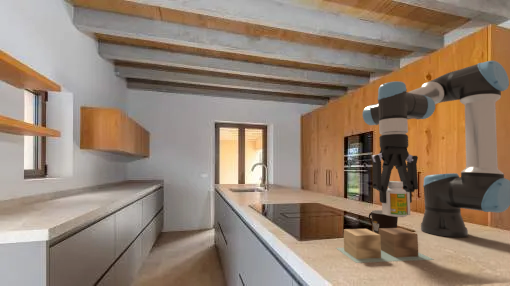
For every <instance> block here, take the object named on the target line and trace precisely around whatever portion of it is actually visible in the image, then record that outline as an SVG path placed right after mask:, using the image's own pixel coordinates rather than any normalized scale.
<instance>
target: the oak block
mask: <svg viewBox="0 0 510 286" xmlns="http://www.w3.org/2000/svg"><path fill="white" fill-rule="evenodd" d="M343 248H344V251H346V252H347V253H349V254H350V255H352V256H353V257H354V258H356V259H368V258H381V239H380V235H379V234H377V233H375V232H374V231H372V230H370V229H368V228H345V229H343Z"/></svg>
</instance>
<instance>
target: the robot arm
mask: <svg viewBox="0 0 510 286" xmlns="http://www.w3.org/2000/svg"><path fill="white" fill-rule="evenodd" d="M509 86H510V80H509V76H508V73H507V71H506V69H505V68H504V66H503V65H502V64H501V63H500V62H498V61H497V60H487V61H484V62H478V63H476V64H473V65H470V66H467V67H464V68H463V67H462V68H460V69H457V70H453V71H450V72H447V73H445V74H442V75H440V76H438V77H436V78H434V79H432V80H430V81H427V82H425V83H423V84H422V85H421V87H418V88H415V89H412V90H410V91H407V85H406V83H405V82H403V81H390V82H385V83H383V84H381V85H380V86H379V87H378V91H377V94H378V95H377V103H375V104H370V105H368V106H366V107H365V108H364V109H363V111H362V119H363V122H364V123H365V124H367V125H368V126H378V127H379V130H378V132H379V134H380V136H379V138H378V139H379V148H380V151H379V153H378V154H372V155H370V159H371V163H372V188H373V189H374V190H377V191H378V193H379V202H380V204H381V210H382V214H385V215H388V216H391V209H390V192H386V191H387V189H388V184H389V181H391V180H390V179H391V175H392V171H393V169H394V167H395V169H396V170H397V174H398V177H399V180H400V182H403V187H402V189H404V190H405V191H406V201H407V216H411V204H412V202H413V198H412V195H413V194H412V193H414V192H415V190H418V189H419V181H418V180H419V179H418V169H417V168H418V167H417V164H418V160H419V159H418V158H419V157H418V155H412V154H410V153H409V152H408V148H409V136H408V135H407V134H408V133H409V126H408V120H411V119H414V120H426V119H428V118H430V117H431V116H432V115H433V114H434V112H435V110H436V105H437V104H439V103H445V102H446V103H447V102H452V101H453V102H454V101H459V103H461V104H462V105H464V119H465V120H464V129H465V131H464V132H465V136H464V137H465V168H464V169H463V170H461V171H460V176H461V177H460V176H459V173H454V172H453V173H452V172H451V173H440V174H439V173H438V174H437V173H436V174H428V175H426V176H424V178H423V186H422V187H423V194H424V195H423V196H424V213H423V216H422V221H421V223H420V230H421V231H422V232H424V233H427V234H430V235H434V236H442V237H448V238H449V237H450V238H466V237H468V236H469V232H468V228H467V227H466V224H465V222H464V219H463V216H462V212H461V211H462V210H461V209H464V210H465V209H466V210H472V211H479V212H480V211H481V212H485V213H496V214H498V213H504V212H505V211H507V210H508V209H509V207H510V179H507V178H505V173H503V171H501V170H500V169H499V168H498V163H499V162H498V141H497V140H498V139H497V138H498V137H497V111H496V109H497V108H496V102H497V101H499V100H500V99H501V97H502V92H504V91H506V90H508V88H509ZM382 161H383V162H382Z"/></svg>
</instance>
